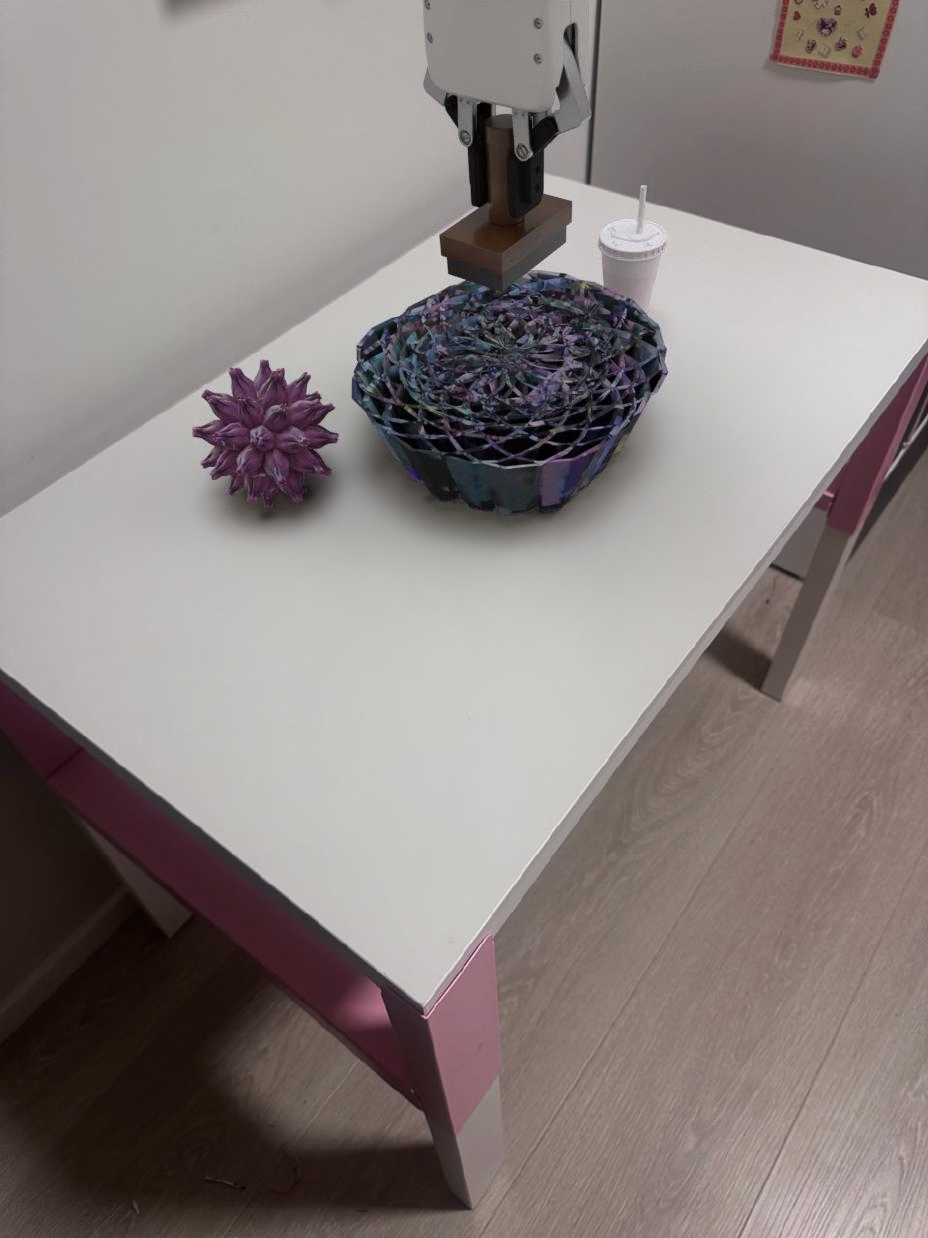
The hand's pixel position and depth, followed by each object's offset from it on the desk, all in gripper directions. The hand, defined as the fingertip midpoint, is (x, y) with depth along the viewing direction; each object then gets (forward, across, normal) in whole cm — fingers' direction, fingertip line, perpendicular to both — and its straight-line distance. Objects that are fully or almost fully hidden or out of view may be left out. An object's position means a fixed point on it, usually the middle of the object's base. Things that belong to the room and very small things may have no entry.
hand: (506, 202), depth 63 cm
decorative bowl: (+21, 0, 0) cm, 21 cm away
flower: (+21, +13, +17) cm, 30 cm away
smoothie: (+21, 0, -20) cm, 29 cm away
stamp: (+4, 0, 0) cm, 4 cm away
